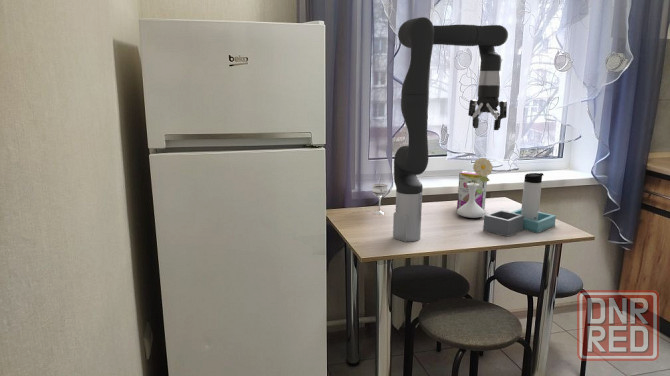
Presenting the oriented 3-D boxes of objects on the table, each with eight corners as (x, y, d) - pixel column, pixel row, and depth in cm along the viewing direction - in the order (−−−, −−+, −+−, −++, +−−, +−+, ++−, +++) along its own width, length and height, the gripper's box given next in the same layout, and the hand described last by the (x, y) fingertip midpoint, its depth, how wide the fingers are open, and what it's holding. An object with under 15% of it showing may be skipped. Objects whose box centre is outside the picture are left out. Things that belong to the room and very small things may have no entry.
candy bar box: (456, 208, 207) (458, 172, 203) (460, 205, 211) (462, 170, 207) (481, 212, 201) (484, 175, 197) (485, 209, 205) (487, 173, 202)
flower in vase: (455, 218, 192) (458, 158, 187) (458, 211, 203) (461, 154, 197) (488, 221, 188) (493, 160, 182) (489, 214, 198) (494, 156, 193)
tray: (537, 232, 175) (538, 222, 174) (503, 224, 185) (504, 214, 184) (554, 225, 183) (555, 215, 182) (521, 217, 194) (522, 208, 193)
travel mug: (539, 225, 180) (545, 175, 176) (521, 224, 181) (526, 174, 177) (536, 221, 186) (541, 171, 182) (518, 220, 187) (523, 171, 183)
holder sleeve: (507, 236, 170) (508, 221, 169) (483, 230, 178) (484, 214, 176) (522, 230, 177) (524, 215, 176) (498, 224, 185) (500, 209, 183)
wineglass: (388, 215, 197) (388, 187, 194) (372, 214, 197) (372, 187, 195) (386, 210, 204) (387, 183, 201) (371, 210, 204) (371, 183, 201)
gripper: (466, 84, 171) (463, 128, 175) (501, 84, 161) (497, 131, 165) (477, 83, 176) (474, 126, 180) (512, 84, 166) (509, 130, 169)
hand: (485, 129), depth 172 cm, fingers open, 8 cm apart
